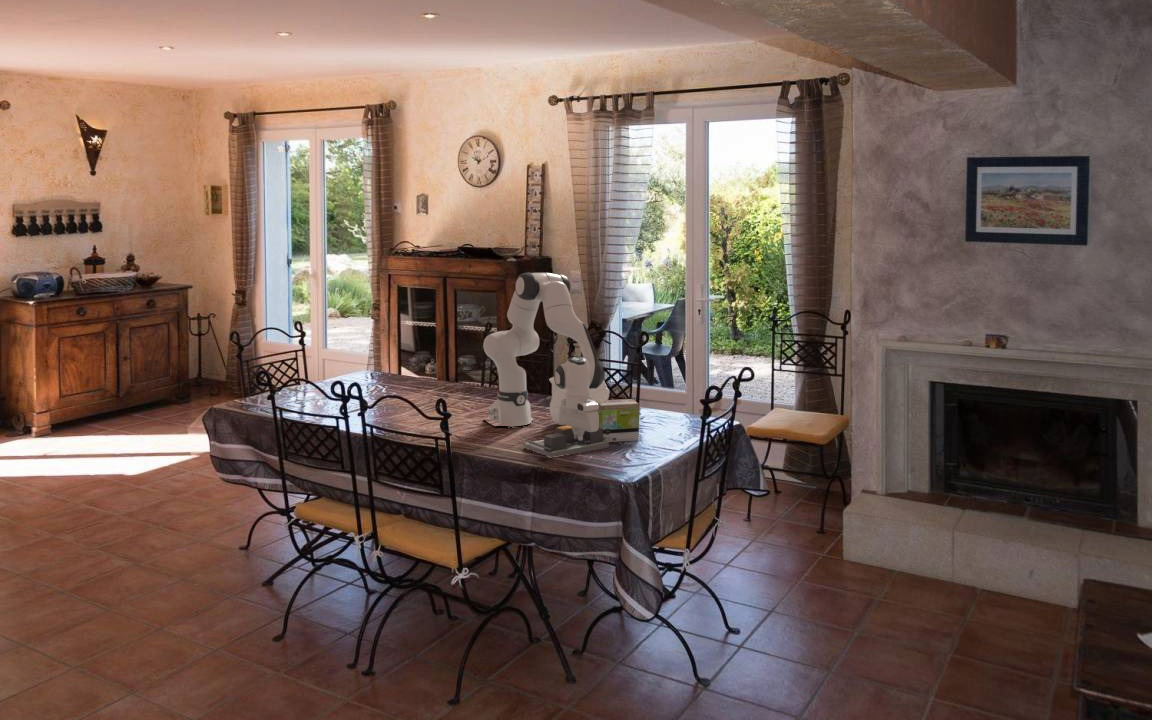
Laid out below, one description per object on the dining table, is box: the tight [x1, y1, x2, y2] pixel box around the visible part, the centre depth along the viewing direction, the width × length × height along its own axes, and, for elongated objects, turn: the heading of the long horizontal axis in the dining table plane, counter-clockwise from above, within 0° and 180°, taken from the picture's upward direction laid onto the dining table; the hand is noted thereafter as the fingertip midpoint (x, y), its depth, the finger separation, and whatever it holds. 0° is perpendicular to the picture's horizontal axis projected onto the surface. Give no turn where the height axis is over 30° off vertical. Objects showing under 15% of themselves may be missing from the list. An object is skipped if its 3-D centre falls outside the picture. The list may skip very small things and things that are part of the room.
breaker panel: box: [523, 428, 610, 457], centre depth 370 cm, size 18×26×7 cm
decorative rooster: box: [548, 367, 610, 426], centre depth 405 cm, size 25×16×25 cm, turn 95°
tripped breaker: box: [554, 425, 582, 445], centre depth 369 cm, size 9×9×6 cm
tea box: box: [595, 398, 640, 443], centre depth 381 cm, size 15×10×15 cm, turn 105°
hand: (578, 439), depth 363 cm, fingers closed
